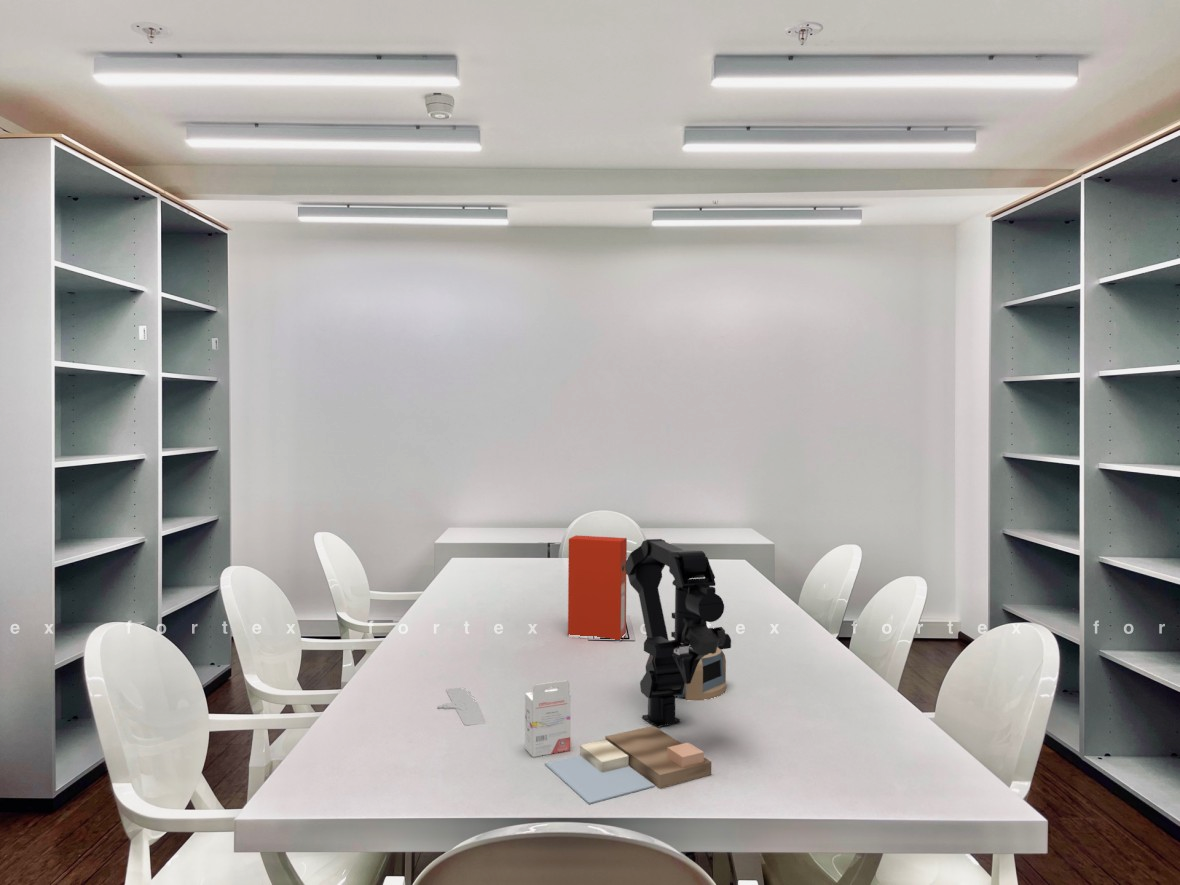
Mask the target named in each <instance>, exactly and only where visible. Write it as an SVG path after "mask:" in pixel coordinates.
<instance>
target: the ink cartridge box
mask: <svg viewBox="0 0 1180 885" xmlns="http://www.w3.org/2000/svg"><path fill="white" fill-rule="evenodd" d="M550 688H553V689H550ZM524 749H525V750H526V751H527V753H529V755H530V756H531V757H532V758H535V757H541V756H542V755H543V756H547V755H552V754H553V753H554V754H559V753H564V752H563V751H565V752H569V751H571V695H570V681H569V680H568V679H567V680H561V681H559V680H557V681H551V682H550V681H549V682H544V683H537V684H532V692H525V693H524ZM568 750H569V751H568ZM558 752H559V753H558ZM554 754H553V755H554Z"/></svg>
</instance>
